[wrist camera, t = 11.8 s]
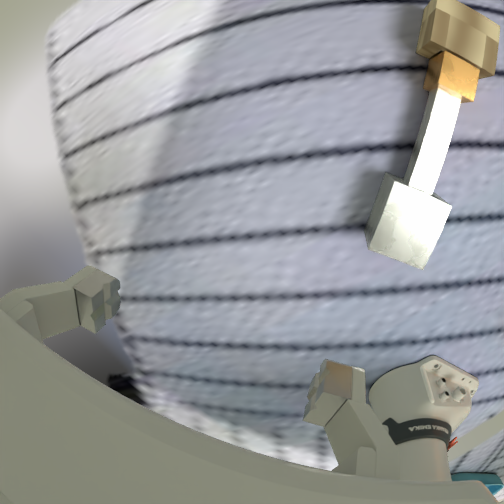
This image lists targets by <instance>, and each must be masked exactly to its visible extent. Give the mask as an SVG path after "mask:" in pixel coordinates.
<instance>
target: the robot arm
mask: <svg viewBox="0 0 504 504" xmlns="http://www.w3.org/2000/svg"><path fill="white" fill-rule="evenodd" d="M119 289H120V281H119V280H118V279H117V278H115V277H113V276H111V275H109V274H107V273H105V272H103V271H101V270H98V269H96V268H94V267H93V266H86V267H85V268H83V269H82V270H81V271H79V272H78V273H76V274H75V275H73V276H72V277H70V278H69V279H68V280H66V281H65V282H63V283H62V282H61V281H59V282H54V283H48V284H42V285H36V286H30V287H25V288H19V289H14V290H12V291H11V292H9V293H8V294H6V295H5V296H4V297H2V298H1V299H0V504H499V502H498V501H497V500H496V498H495V497H494V496H493V494H492V493H491V492H490V491H489V489H488V488H487V487H486V486H485V485H484V484H483V483H482V482H480V481H478V480H467V481H452V479H451V474H450V469H449V463H448V456H447V452H448V451H449V449H450V448H451V447H452V446H453V445H455V444H456V443H457V442H458V441H456V442H455V440H456V439H457V437H455V438H454V439H453V440H452V441H450V437H451V433H452V432H453V431H454V430H455V429H456V428H457V427H458V426H459V425H460V424H461V423H462V422H463V421H464V420H465V419H466V417H467V416H468V414H469V412H470V410H471V404H472V403H471V398H472V397H473V395H474V394H475V392H476V390H477V388H478V385H479V381H478V379H477V378H476V377H474V376H472V375H470V374H469V373H467V372H465V371H463V370H461V369H459V368H457V367H456V366H454V365H452V364H450V363H448V362H446V361H444V360H443V359H441V358H439V357H437V356H429V357H427V358H425V359H423V360H421V361H420V362H418V363H415V364H411V365H406V366H402V367H399V368H396V369H394V370H392V371H390V372H388V373H386V374H385V375H383V376H382V377H380V378H379V379H378V380H377V381H376V382H375V383H374V384H373V386H372V387H371V389H370V392H369V401H370V404H371V406H372V408H371V407H370V405H369V404H366V390H365V370H364V369H361V368H357V367H354V366H349V365H346V364H342V363H339V362H335V361H332V360H328V359H325V360H324V361H323V362H322V364H321V366H320V372H318V373H316V374H315V376H314V378H313V380H312V382H311V384H310V387H309V391H308V395H307V397H308V399H309V402H308V403H307V405H306V406H305V411H304V417H303V421H306V422H309V423H312V424H316V425H319V426H323V427H324V429H325V431H326V434H327V436H328V439H329V441H330V444H331V446H332V449H333V451H334V454H335V456H336V459H337V461H338V464H339V465H338V466H337V467H336V468H334V469H333V470H332V471H328V470H323V469H318V468H313V467H309V466H304V465H300V464H296V463H292V462H288V461H284V460H280V459H277V458H273V457H270V456H266V455H263V454H260V453H256V452H253V451H250V450H247V449H244V448H241V447H238V446H235V445H232V444H229V443H226V442H224V441H221V440H218V439H216V438H213V437H210V436H208V435H205V434H203V433H200V432H198V431H195V430H193V429H191V428H188V427H186V426H184V425H181V424H179V423H177V422H175V421H172V420H170V419H168V418H166V417H164V416H162V415H160V414H158V413H156V412H153V411H151V410H149V409H147V408H145V407H143V406H142V405H140V404H138V403H136V402H134V401H132V400H130V399H128V398H126V397H125V396H123V395H121V394H119V393H118V392H116V391H114V390H112V389H111V388H109V387H107V386H105V385H104V384H102V383H100V382H98V381H97V380H96V379H94V378H92V377H91V376H89V375H87V374H86V373H84V372H83V371H81V370H80V369H78V368H77V367H75V366H74V365H72V364H70V363H69V362H68V361H66V360H65V359H63V358H62V357H61V356H59V355H58V354H56V353H55V352H54V351H52V350H51V349H49V348H48V347H47V346H45V345H44V343H43V339H45V338H48V337H51V336H54V335H57V334H60V333H62V332H65V331H68V330H70V329H74V328H76V327H79V326H80V325H81V326H82V327H84V328H86V329H88V330H90V331H91V332H93V333H95V334H96V333H97V332H98V331H99V330H100V329H101V328H102V327H103V326H104V325H106V319H111V318H113V317H114V316H115V315H116V313H117V311H118V310H119V308H120V303H121V297H120V295H119V294H118V292H117V291H118V290H119ZM436 364H437V365H436ZM372 409H373V410H372ZM449 441H450V442H449ZM454 442H455V443H454Z"/></svg>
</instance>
